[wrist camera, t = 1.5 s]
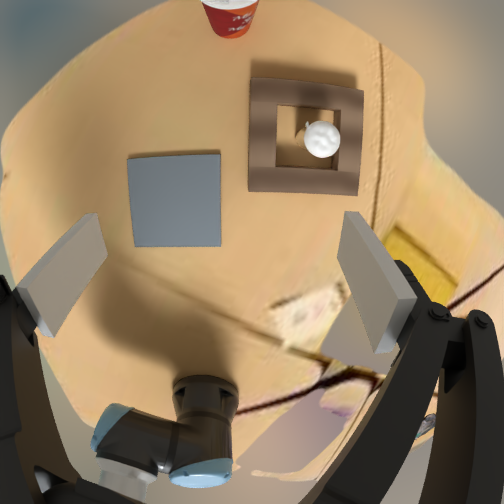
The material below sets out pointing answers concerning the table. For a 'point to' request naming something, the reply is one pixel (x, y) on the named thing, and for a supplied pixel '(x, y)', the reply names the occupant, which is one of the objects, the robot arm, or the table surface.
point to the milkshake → (319, 138)
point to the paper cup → (230, 16)
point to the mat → (175, 200)
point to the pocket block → (265, 127)
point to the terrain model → (426, 425)
